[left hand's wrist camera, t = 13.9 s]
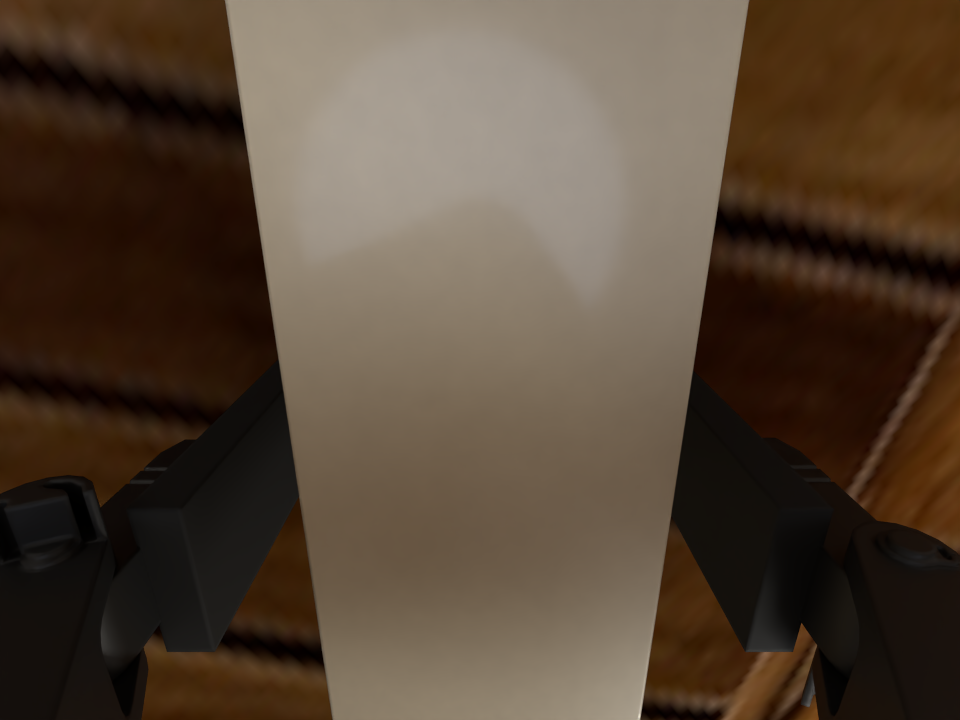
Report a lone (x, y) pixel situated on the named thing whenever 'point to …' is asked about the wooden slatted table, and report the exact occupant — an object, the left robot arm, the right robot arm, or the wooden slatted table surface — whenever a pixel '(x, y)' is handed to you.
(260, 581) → the wooden slatted table surface
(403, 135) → the ash beam
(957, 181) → the wooden slatted table surface
